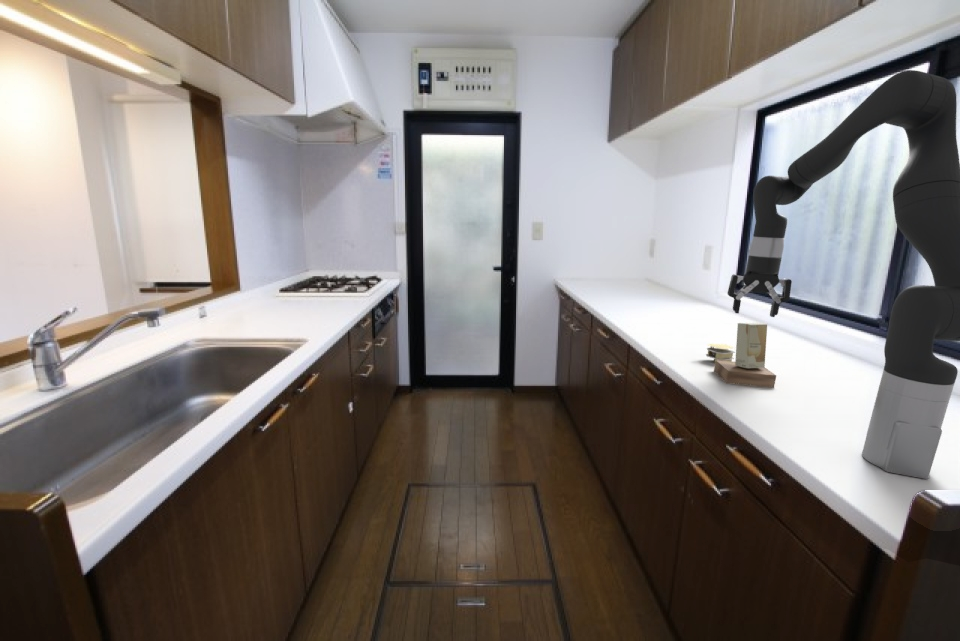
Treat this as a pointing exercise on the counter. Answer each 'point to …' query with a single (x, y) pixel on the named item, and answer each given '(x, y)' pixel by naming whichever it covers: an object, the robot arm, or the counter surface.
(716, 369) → the walnut block
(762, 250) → the robot arm
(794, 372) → the counter surface
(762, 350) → the skincare box
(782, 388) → the counter surface
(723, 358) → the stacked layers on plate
